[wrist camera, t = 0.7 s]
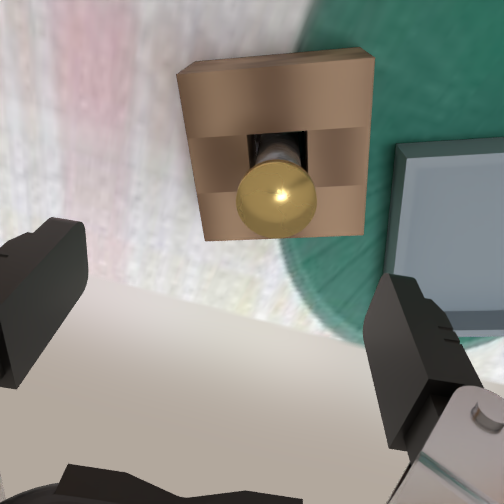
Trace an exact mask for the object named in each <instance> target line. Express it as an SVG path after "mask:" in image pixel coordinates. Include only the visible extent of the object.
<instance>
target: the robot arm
mask: <svg viewBox="0 0 504 504" xmlns="http://www.w3.org/2000/svg"><path fill="white" fill-rule="evenodd" d="M87 280H88V259H87V246H86V234H85V227H84V224H83V223H82V222H79V221H73V220H67V219H61V218H55V217H51V218H49V219H48V220H47V221H46V222H45V223H43V224H42V225H41V226H40V227H39V228H38V229H37V230H36V231H35V232H34V233H29V232H27V233H25V234H22V235H20V236H18V237H16V238H13V239H11V240H9V241H7V242H6V243H5V244H4V245H3V246H2V247H0V387H4V388H11V389H17V388H18V387H19V385H20V384H21V383H22V381H23V380H24V378H25V377H26V375H27V374H28V372H29V370H30V369H31V368H32V366H33V365H34V363H35V362H36V361H37V359H38V358H39V356H40V355H41V353H42V352H43V350H44V349H45V347H46V346H47V344H48V343H49V342H50V340H51V339H52V337H53V336H54V334H55V333H56V331H57V330H58V328H59V327H60V326H61V324H62V323H63V321H64V320H65V318H66V317H67V315H68V314H69V312H70V311H71V309H72V308H73V307H74V305H75V304H76V302H77V301H78V299H79V298H80V296H81V295H82V293H83V291H84V290H85V287H86V284H87ZM363 339H364V344H365V348H366V352H367V356H368V361H369V365H370V369H371V374H372V378H373V382H374V386H375V391H376V395H377V399H378V404H379V408H380V413H381V417H382V421H383V425H384V430H385V434H386V438H387V443H388V447H389V449H396V450H402V451H407V452H408V455H409V459H410V462H409V464H408V466H407V467H406V469H405V470H404V472H403V474H402V476H401V477H400V479H399V481H398V483H397V484H396V486H395V488H394V490H393V492H392V493H391V495H390V497H389V499H388V501H387V502H386V504H504V399H503V398H502V397H500V396H499V395H497V394H495V393H493V392H491V391H489V390H487V389H484V387H483V385H482V383H481V381H480V379H479V377H478V375H477V373H476V371H475V369H474V367H473V366H472V364H471V362H470V360H469V358H468V356H467V354H466V352H465V350H464V348H463V346H462V344H460V340H459V338H458V336H457V334H456V332H455V331H453V327H452V325H451V323H450V321H449V319H448V317H447V315H446V313H445V312H444V311H443V310H442V309H441V308H440V307H439V306H438V305H437V304H436V303H435V302H434V301H433V300H432V299H427V298H424V296H423V293H422V291H421V289H420V287H419V285H418V283H417V281H416V279H415V278H413V277H408V276H402V275H396V274H390V273H384V274H383V275H382V277H381V279H380V281H379V283H378V286H377V288H376V291H375V293H374V296H373V298H372V301H371V303H370V306H369V309H368V311H367V314H366V316H365V320H364V325H363ZM0 504H303V499H298V498H291V497H285V496H278V495H271V494H265V493H258V492H252V491H239V492H231V493H222V494H214V495H206V496H199V497H190V498H184V497H179V496H176V495H174V494H172V493H170V492H167V491H165V490H163V489H161V488H159V487H157V486H154V485H152V484H150V483H148V482H146V481H144V480H141V479H139V478H137V477H135V476H133V475H130V474H128V473H125V472H119V471H112V470H106V469H99V468H93V467H85V466H79V465H72V464H68V465H67V467H66V469H65V471H64V473H63V476H62V478H61V480H60V482H59V483H55V484H49V485H46V486H41V487H37V488H34V489H31V490H28V491H25V492H22V493H20V494H17V495H15V496H13V497H11V498H8V499H6V498H5V494H4V489H3V485H2V481H1V475H0Z"/></svg>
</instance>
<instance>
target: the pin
mask: <svg viewBox="0 0 504 504" xmlns="http://www.w3.org/2000/svg"><path fill="white" fill-rule="evenodd" d="M236 207H237V211H238V214H239V216H240V218H241V220H242V221H243V223H244V224H245V225H246V226H247V227H248V228H249V229H250V230H252V231H253V232H255V233H256V234H258V235H261V236H264V237H268V238H285V237H289V236H292V235H295V234H297V233H298V232H300V231H302V230H303V229H304V228H305V227H306V226H307V225H308V224H309V223H310V222H311V220H312V218H313V216H314V214H315V211H316V207H317V195H316V189H315V185H314V183H313V180H312V179H311V177H310V176H309V174H308V173H307V172H306V171H305V170H304V169H303V168H302V167H301V161H300V149H299V136H298V131H293V132H278V133H264V134H261V138H260V143H259V148H258V154H257V159H256V164H255V166H253V167H252V168H251V169H249V170H248V171H247V172H246V174H245V175H244V176H243V178H242V179H241V181H240V184H239V187H238V191H237V195H236Z"/></svg>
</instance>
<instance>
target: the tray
mask: <svg viewBox="0 0 504 504" xmlns="http://www.w3.org/2000/svg"><path fill="white" fill-rule="evenodd" d="M384 273H390V274H396V275H402V276H408V277H413V278H415V279H416V281H417V283H418V285H419V287H420V289H421V291H422V293H423V296H424V298H427V299H432V300H433V301H434V302H435V303H436V304H437V305H438V306H439V307H440V308H441V309H442V310H443V311H444V312H445V313H446V315H447V317H448V319H449V321H450V323H451V325H452V327H453V331H455V332H456V334H457V336H458V337H485V336H504V137H496V138H480V139H465V140H449V141H433V142H417V143H401V144H396V149H395V159H394V170H393V180H392V190H391V200H390V210H389V220H388V230H387V240H386V250H385V261H384V271H383V274H384Z"/></svg>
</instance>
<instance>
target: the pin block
mask: <svg viewBox="0 0 504 504" xmlns="http://www.w3.org/2000/svg"><path fill="white" fill-rule="evenodd" d="M374 65H375V57H373V56H372V55H371V54H369V53H368V52H366V51H365V50H363V49H362V48H360V47H354V48H343V49H331V50H320V51H309V52H298V53H286V54H275V55H264V56H253V57H241V58H230V59H219V60H207V61H196V62H194V63H192V64H191V65H189V66H188V67H186V68H185V69H183V70H182V71H181V72H179V73H178V74H176V76H177V82H178V88H179V94H180V99H181V105H182V111H183V117H184V123H185V128H186V134H187V140H188V146H189V152H190V157H191V163H192V169H193V175H194V181H195V186H196V192H197V198H198V204H199V210H200V215H201V221H202V227H203V233H204V239H205V241H226V240H252V239H277V238H268V237H264V236H261V235H258V234H256V233H255V232H253V231H252V230H250V229H249V228H248V227H247V226H246V225H245V224H244V223H243V221H242V220H241V218H240V216H239V214H238V211H237V207H236V195H237V191H238V187H239V184H240V181H241V179H242V178H243V176H244V175H245V174H246V172H247V171H248V170H249V169H251V168H252V167H253V166H255V164H256V159H257V156H256V144H255V134H264V133H278V132H293V131H305V159H300V161H301V167H302V168H303V169H304V170H305V171H306V172H307V173H308V174H309V176H310V177H311V179H312V180H313V183H314V185H315V189H316V195H317V207H316V211H315V214H314V216H313V218H312V220H311V222H310V223H309V224H308V225H307V226H306V227H305V228H304V229H303V230H302V231H300V232H298V233H297V234H295V235H292V236H289V237H285V238H302V237H327V236H352V235H364V221H365V205H366V189H367V174H368V158H369V143H370V127H371V111H372V96H373V80H374Z"/></svg>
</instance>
